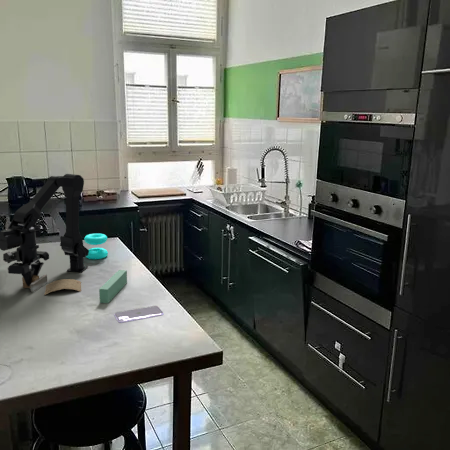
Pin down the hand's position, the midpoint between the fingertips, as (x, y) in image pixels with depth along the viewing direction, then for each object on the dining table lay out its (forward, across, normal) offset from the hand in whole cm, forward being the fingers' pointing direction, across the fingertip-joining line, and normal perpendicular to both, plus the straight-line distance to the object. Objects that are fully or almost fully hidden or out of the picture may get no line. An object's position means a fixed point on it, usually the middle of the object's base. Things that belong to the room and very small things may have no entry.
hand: (31, 284), depth 170 cm
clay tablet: (+2, 0, +12) cm, 13 cm away
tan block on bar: (+1, 0, +1) cm, 1 cm away
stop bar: (+1, 0, +32) cm, 32 cm away
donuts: (+1, -39, +10) cm, 40 cm away
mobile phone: (+2, +17, +46) cm, 50 cm away
